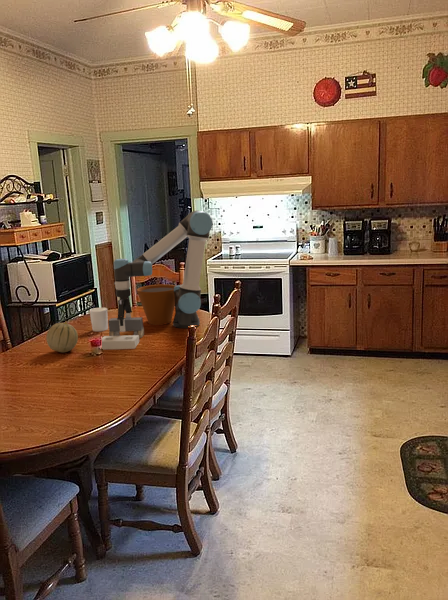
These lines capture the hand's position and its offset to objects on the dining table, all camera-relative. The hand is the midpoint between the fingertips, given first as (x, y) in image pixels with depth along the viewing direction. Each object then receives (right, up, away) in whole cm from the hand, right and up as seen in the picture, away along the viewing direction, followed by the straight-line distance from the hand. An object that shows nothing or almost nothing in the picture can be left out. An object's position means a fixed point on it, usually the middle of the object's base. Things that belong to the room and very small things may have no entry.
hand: (125, 328), depth 281 cm
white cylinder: (-18, -2, +18) cm, 25 cm away
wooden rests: (0, -5, +1) cm, 5 cm away
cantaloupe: (-27, -11, -20) cm, 35 cm away
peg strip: (0, -4, +1) cm, 5 cm away
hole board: (-1, -8, -15) cm, 17 cm away
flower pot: (+14, +2, +32) cm, 35 cm away
